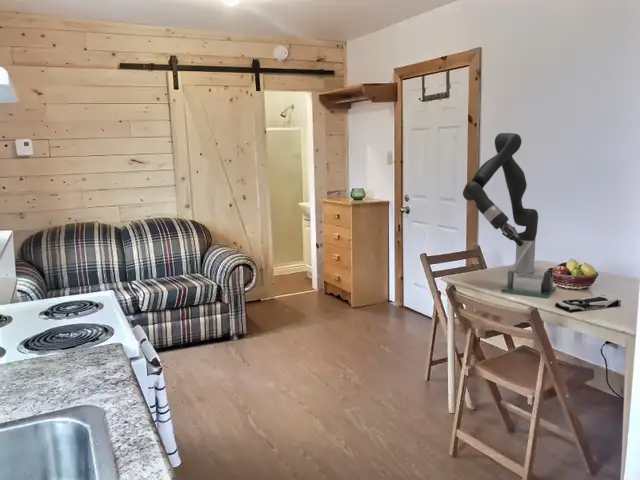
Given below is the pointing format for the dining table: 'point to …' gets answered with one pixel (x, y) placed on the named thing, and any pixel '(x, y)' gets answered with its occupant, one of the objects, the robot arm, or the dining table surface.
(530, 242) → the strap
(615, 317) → the dining table surface
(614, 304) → the graphics card
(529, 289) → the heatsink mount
